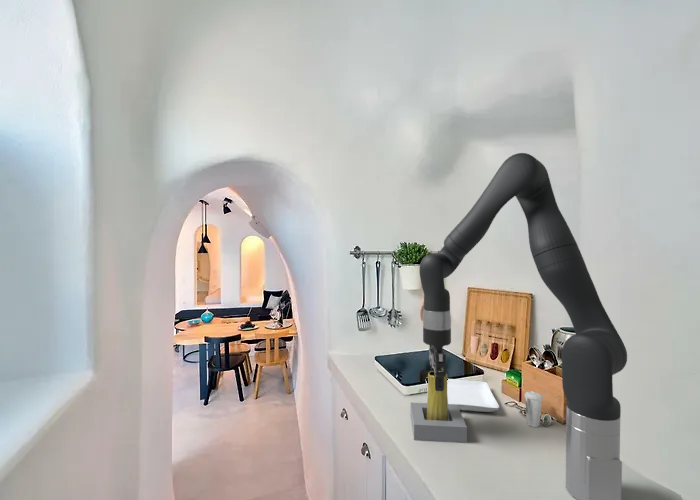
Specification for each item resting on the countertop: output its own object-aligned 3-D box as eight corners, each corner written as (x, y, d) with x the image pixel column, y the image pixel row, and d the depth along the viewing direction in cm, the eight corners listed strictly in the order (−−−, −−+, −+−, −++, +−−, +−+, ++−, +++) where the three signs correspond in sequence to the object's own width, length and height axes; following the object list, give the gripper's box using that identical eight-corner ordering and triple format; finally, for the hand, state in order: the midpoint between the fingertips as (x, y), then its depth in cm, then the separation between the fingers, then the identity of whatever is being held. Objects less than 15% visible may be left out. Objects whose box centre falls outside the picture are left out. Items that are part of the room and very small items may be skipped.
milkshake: (547, 429, 102) (547, 393, 101) (526, 427, 103) (526, 392, 102) (542, 421, 106) (542, 387, 106) (522, 419, 107) (522, 385, 107)
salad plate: (500, 418, 109) (500, 406, 109) (427, 412, 112) (427, 401, 112) (486, 390, 130) (486, 380, 130) (425, 386, 133) (425, 376, 133)
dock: (466, 442, 95) (467, 427, 95) (414, 439, 96) (414, 424, 96) (456, 418, 108) (457, 404, 108) (410, 415, 109) (410, 402, 109)
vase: (432, 431, 98) (433, 378, 98) (422, 421, 104) (422, 371, 104) (452, 428, 100) (453, 376, 100) (441, 418, 106) (441, 369, 105)
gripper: (455, 332, 94) (455, 395, 94) (446, 321, 108) (446, 376, 108) (426, 331, 95) (426, 394, 95) (420, 320, 109) (420, 375, 109)
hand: (437, 384), depth 102 cm, fingers open, 8 cm apart
